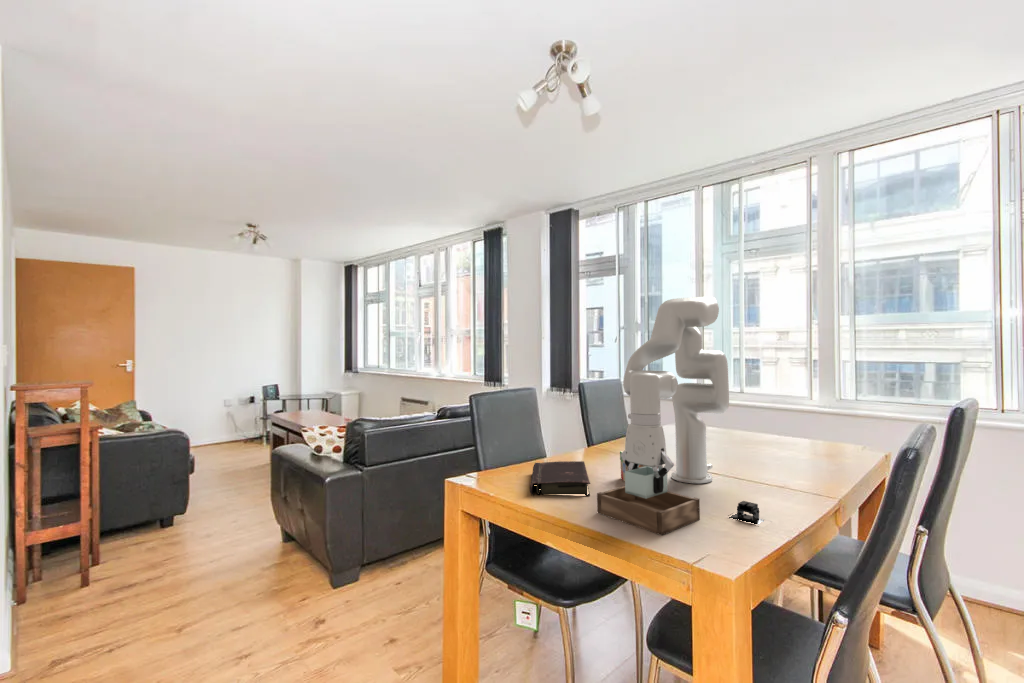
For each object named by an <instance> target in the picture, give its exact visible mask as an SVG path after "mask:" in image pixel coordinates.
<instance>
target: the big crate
mask: <svg viewBox="0 0 1024 683" xmlns="http://www.w3.org/2000/svg"><path fill="white" fill-rule="evenodd" d="M596 502H597V503H596V505H597V506H596V508H597V512H598V513H597V512H596V513H597V514H599V513H601V514H600V515H602V514H604V515H603V516H605V515H606V517H608V516H609V517H608V518H611V517H612V518H611V519H614V520H617V521H619V520H620V522H622V521H623V522H622V523H625V522H626V524H629V525H632V526H634V527H637V528H640V529H643V530H646V531H649V532H651V533H655V534H657V535H660V536H663V535H666V534H669V533H672V532H673V531H676V530H678V529H681V528H683V527H685V526H687V525H690V524H692V523H695V522H697V521H700V519H701V517H700V516H701V513H700V510H701V509H700V508H701V507H700V498H697V497H691V496H688V495H683V494H681V493H680V494H678V493H676V492H671V491H668V492H666V493H663V494H660V495H656V496H653V497H650V498H647V499H645V498H642V497H638V496H635V495H631V494H628V493H625V485H623V486H619V487H616V488H613V489H612V488H611V489H609V490H605V491H602V492H601V491H600V492H597V493H596Z"/></svg>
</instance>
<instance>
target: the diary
mask: <svg viewBox="0 0 1024 683" xmlns="http://www.w3.org/2000/svg"><path fill="white" fill-rule="evenodd" d="M530 479H531V480H530V485H529V493H530V495H531V494H533V488H534V489H535V487H534V485H537V487H536V493H537V494H538V493H539V489H541V491H540V493H541V494H542V493H543V494H585V495H586V496H585V497H590V496H591V494H590V492H589V494H588V496H587V486H588V485H590V484H591V481H590V479H589V475H588V471H587V467H586V463H585V461H576V460H575V461H574V460H573V461H571V460H569V461H568V460H567V461H561V460H560V461H546V462H535V463H534V465H533V466H532V474H531V477H530ZM588 487H589V486H588ZM533 495H534V494H533Z"/></svg>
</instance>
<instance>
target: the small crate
mask: <svg viewBox="0 0 1024 683" xmlns="http://www.w3.org/2000/svg"><path fill="white" fill-rule="evenodd" d="M658 470H659V469H658ZM654 477H656V476H655V474H654V471H653V468H652V467H648V466H645V467H641V468H637V469H633V470H629V471H625V482H624V486H625V493H628V494H631V495H635V496H638V497H642V498H645V499H647V498H650V497H653V496H656V495H660V494H663V493H666V492H669V491H668V489H669V487H668V486H669V485H668V483H669V482H668V473H667V474H666V475H665V476H663V485H664V488H663V492H660V493H657V494H656V493H654V482H653V479H654Z"/></svg>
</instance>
